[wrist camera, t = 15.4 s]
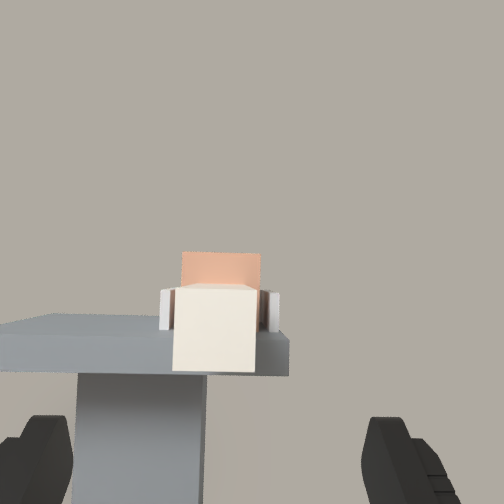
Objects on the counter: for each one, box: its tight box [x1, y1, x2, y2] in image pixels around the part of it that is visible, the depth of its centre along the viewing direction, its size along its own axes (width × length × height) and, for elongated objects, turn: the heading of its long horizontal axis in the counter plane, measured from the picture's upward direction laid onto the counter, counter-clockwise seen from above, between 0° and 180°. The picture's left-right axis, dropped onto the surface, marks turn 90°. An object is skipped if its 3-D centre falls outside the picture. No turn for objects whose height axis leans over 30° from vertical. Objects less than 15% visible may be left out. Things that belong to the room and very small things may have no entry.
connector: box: [172, 251, 261, 372], centre depth 25 cm, size 5×17×5 cm, turn 3°
